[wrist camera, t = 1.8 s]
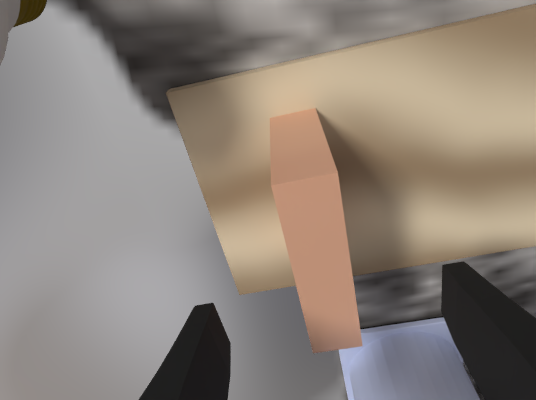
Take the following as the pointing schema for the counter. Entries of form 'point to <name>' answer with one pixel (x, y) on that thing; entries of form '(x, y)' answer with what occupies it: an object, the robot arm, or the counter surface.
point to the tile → (314, 229)
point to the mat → (380, 146)
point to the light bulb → (16, 17)
